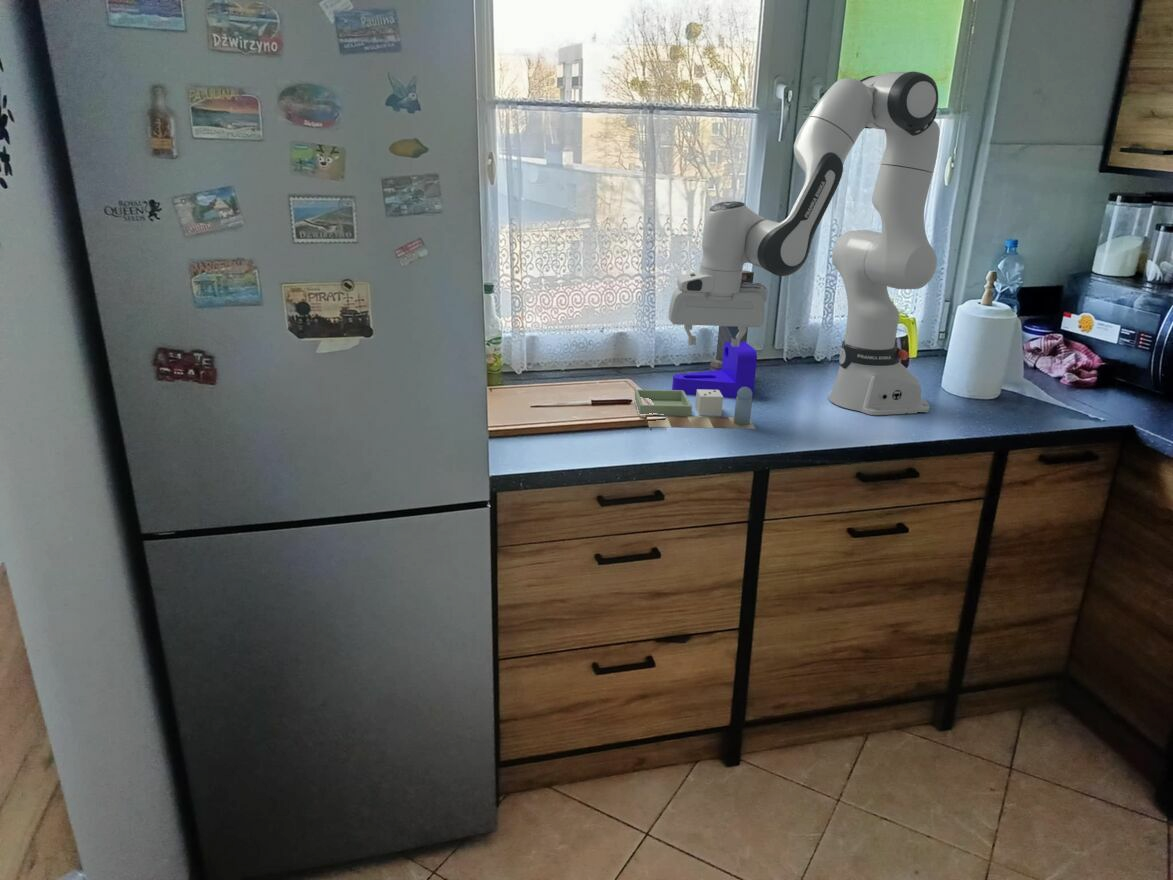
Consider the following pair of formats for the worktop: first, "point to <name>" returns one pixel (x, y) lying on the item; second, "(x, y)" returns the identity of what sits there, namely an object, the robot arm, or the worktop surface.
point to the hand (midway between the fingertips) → (713, 345)
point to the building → (729, 331)
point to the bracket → (723, 373)
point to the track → (698, 422)
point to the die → (709, 402)
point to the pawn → (743, 406)
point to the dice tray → (664, 402)
